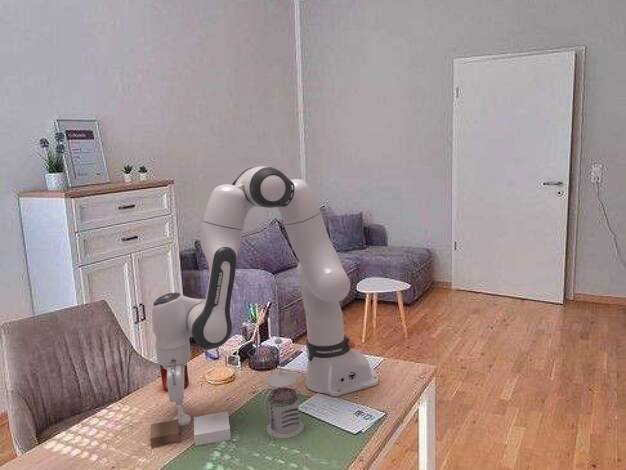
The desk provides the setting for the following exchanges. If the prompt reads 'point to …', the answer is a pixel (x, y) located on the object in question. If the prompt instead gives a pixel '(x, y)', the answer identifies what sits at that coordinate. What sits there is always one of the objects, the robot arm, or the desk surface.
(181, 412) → the chess piece
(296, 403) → the french press
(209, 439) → the light block
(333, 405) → the desk surface
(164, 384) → the canned food
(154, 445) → the walnut block
